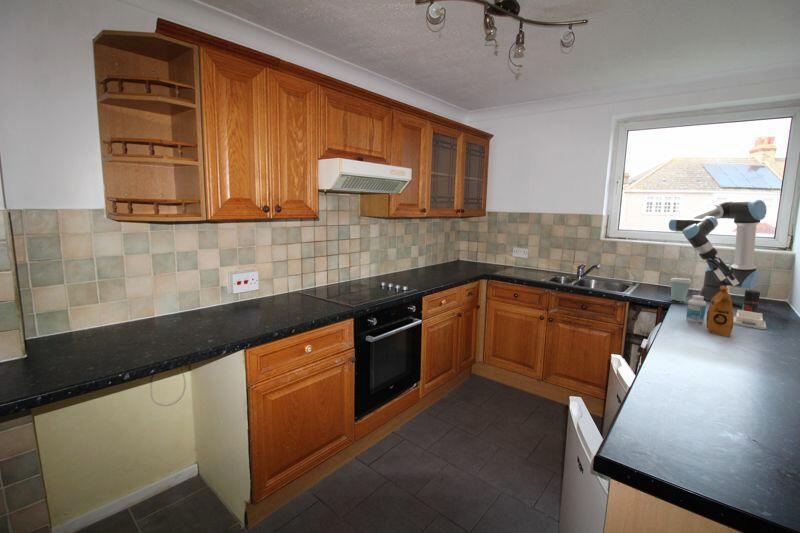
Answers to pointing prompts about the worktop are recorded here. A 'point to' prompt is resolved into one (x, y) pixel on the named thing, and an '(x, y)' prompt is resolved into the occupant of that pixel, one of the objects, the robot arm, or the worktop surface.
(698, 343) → the worktop surface
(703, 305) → the pill bottle
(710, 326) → the coffee package
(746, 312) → the cream square open box
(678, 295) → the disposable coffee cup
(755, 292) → the deodorant
